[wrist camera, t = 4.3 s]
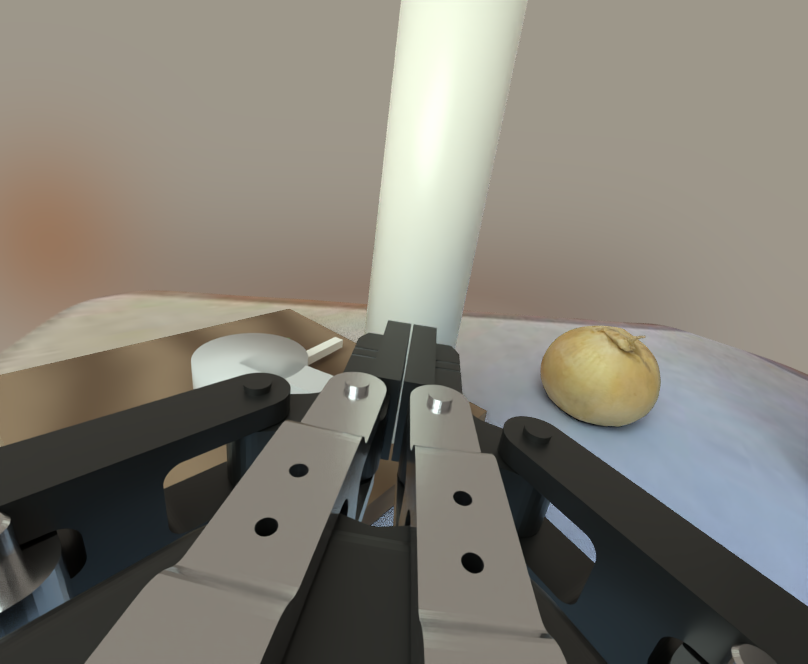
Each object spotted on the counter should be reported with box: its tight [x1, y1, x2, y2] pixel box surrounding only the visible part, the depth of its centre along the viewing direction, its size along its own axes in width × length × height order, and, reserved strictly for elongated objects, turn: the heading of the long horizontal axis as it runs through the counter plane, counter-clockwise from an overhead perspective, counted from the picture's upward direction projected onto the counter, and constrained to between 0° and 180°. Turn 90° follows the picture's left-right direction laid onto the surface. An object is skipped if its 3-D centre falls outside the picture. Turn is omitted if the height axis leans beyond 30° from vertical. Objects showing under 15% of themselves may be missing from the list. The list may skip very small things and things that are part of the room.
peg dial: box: [191, 0, 528, 444], centre depth 19 cm, size 11×14×20 cm
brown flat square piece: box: [0, 309, 487, 525], centre depth 24 cm, size 20×20×2 cm
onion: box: [540, 326, 661, 427], centre depth 30 cm, size 8×8×7 cm
